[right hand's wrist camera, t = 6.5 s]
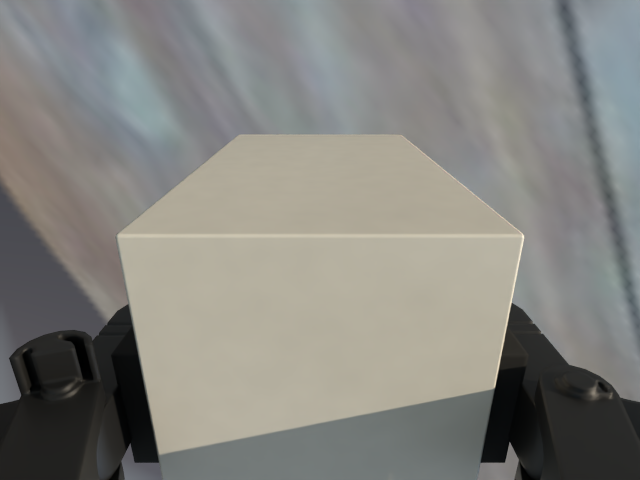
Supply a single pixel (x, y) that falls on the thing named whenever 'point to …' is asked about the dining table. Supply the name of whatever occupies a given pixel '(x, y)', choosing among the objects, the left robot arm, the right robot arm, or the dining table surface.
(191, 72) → the dining table surface
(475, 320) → the brick
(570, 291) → the dining table surface
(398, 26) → the dining table surface
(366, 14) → the dining table surface
